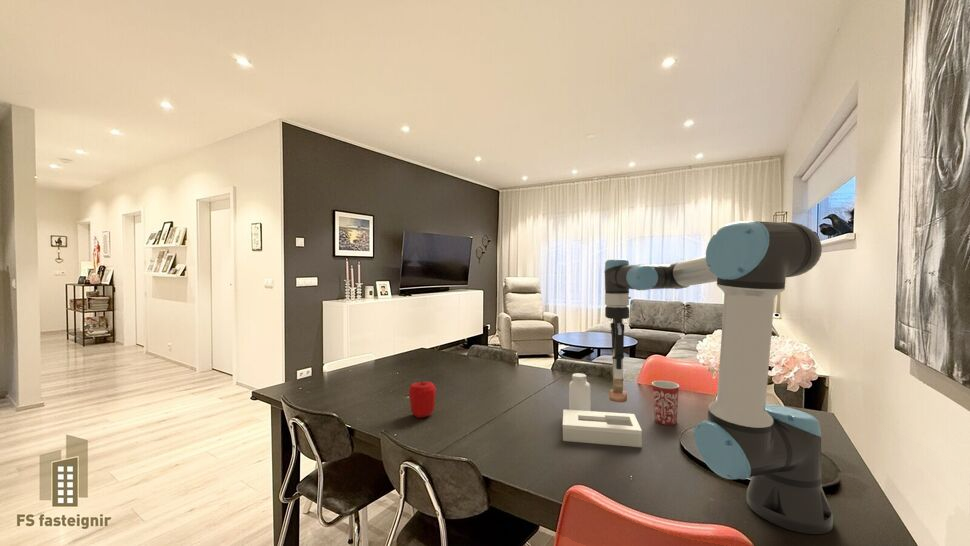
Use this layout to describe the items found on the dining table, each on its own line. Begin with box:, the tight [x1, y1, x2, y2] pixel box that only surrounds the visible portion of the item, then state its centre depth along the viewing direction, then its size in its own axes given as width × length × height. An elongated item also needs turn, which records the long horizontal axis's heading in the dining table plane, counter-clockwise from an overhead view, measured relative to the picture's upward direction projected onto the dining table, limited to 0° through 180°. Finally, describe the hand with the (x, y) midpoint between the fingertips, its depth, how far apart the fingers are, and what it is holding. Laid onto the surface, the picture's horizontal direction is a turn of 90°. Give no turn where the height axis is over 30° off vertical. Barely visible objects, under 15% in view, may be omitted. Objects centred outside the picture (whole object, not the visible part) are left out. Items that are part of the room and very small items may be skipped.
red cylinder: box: [408, 380, 437, 419], centre depth 146 cm, size 10×10×14 cm
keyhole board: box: [562, 408, 643, 448], centre depth 127 cm, size 14×24×5 cm, turn 77°
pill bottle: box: [568, 372, 592, 411], centre depth 146 cm, size 8×8×15 cm
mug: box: [651, 380, 680, 426], centre depth 139 cm, size 13×9×14 cm
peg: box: [608, 349, 628, 403], centre depth 126 cm, size 6×6×16 cm
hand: (617, 376), depth 126 cm, fingers closed on peg, 3 cm apart
